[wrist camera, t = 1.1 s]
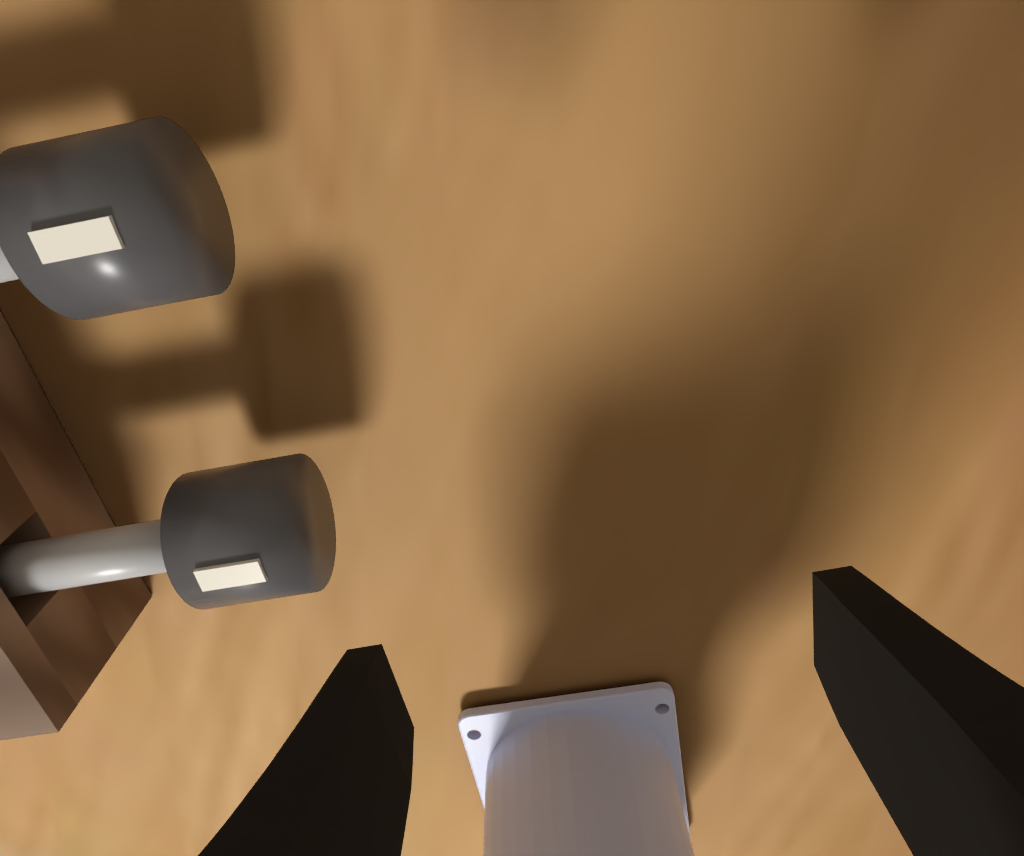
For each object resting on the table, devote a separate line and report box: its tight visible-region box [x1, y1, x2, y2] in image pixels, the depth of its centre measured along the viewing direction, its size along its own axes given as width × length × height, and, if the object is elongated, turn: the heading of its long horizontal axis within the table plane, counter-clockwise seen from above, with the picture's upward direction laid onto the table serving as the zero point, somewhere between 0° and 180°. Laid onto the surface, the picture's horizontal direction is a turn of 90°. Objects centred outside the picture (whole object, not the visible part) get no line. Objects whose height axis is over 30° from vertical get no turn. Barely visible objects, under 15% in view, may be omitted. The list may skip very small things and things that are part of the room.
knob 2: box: [0, 454, 336, 609], centre depth 18 cm, size 4×9×4 cm, turn 100°
